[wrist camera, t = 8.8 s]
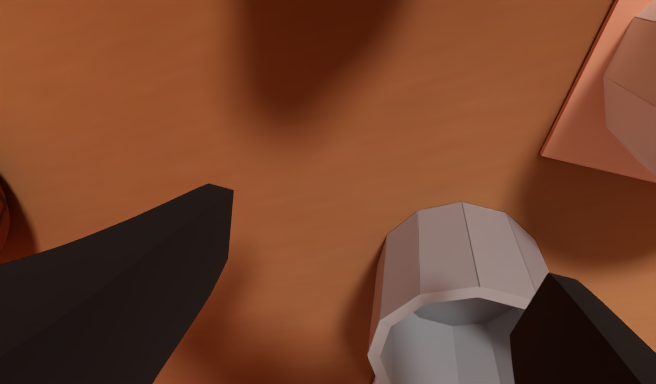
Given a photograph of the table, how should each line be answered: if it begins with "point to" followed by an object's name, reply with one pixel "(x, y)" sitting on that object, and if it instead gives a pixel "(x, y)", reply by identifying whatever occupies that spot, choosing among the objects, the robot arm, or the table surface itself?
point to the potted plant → (3, 219)
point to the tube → (613, 98)
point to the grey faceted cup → (451, 296)
